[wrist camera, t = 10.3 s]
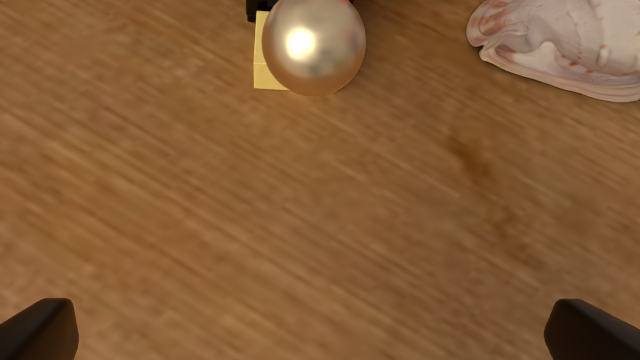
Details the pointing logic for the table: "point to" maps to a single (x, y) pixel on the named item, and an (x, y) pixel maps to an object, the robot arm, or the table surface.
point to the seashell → (564, 43)
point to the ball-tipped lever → (313, 45)
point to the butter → (261, 71)
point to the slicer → (261, 7)
